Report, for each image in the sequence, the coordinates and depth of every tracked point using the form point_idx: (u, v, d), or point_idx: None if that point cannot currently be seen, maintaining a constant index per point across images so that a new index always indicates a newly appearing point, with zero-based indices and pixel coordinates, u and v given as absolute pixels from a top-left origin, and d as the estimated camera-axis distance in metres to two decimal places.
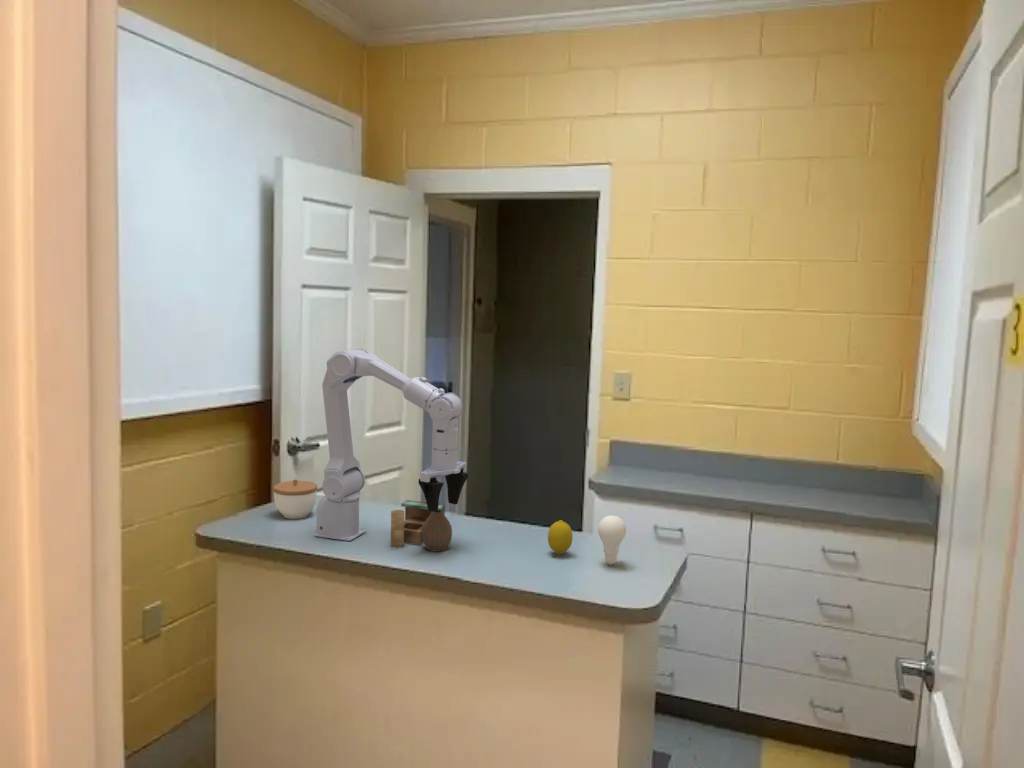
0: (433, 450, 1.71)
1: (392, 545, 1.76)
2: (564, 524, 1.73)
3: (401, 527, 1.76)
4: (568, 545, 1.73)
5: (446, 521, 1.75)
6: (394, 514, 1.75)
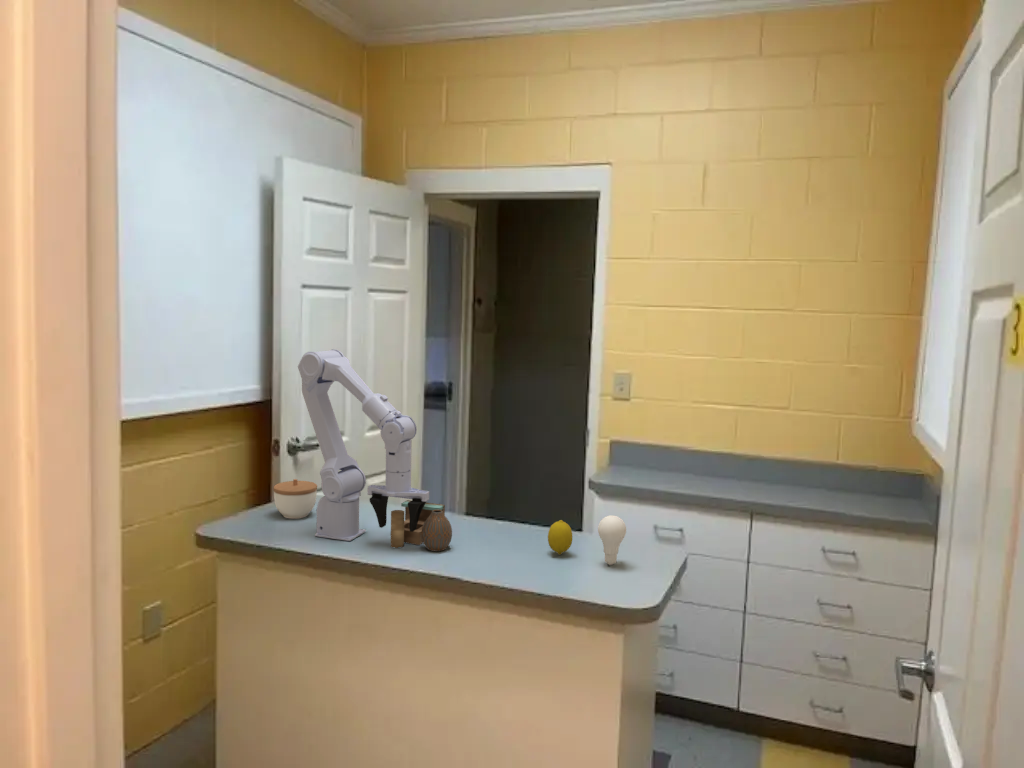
0: None
1: (392, 545, 1.76)
2: (564, 524, 1.73)
3: (401, 527, 1.76)
4: (568, 545, 1.73)
5: (446, 521, 1.75)
6: (394, 514, 1.75)
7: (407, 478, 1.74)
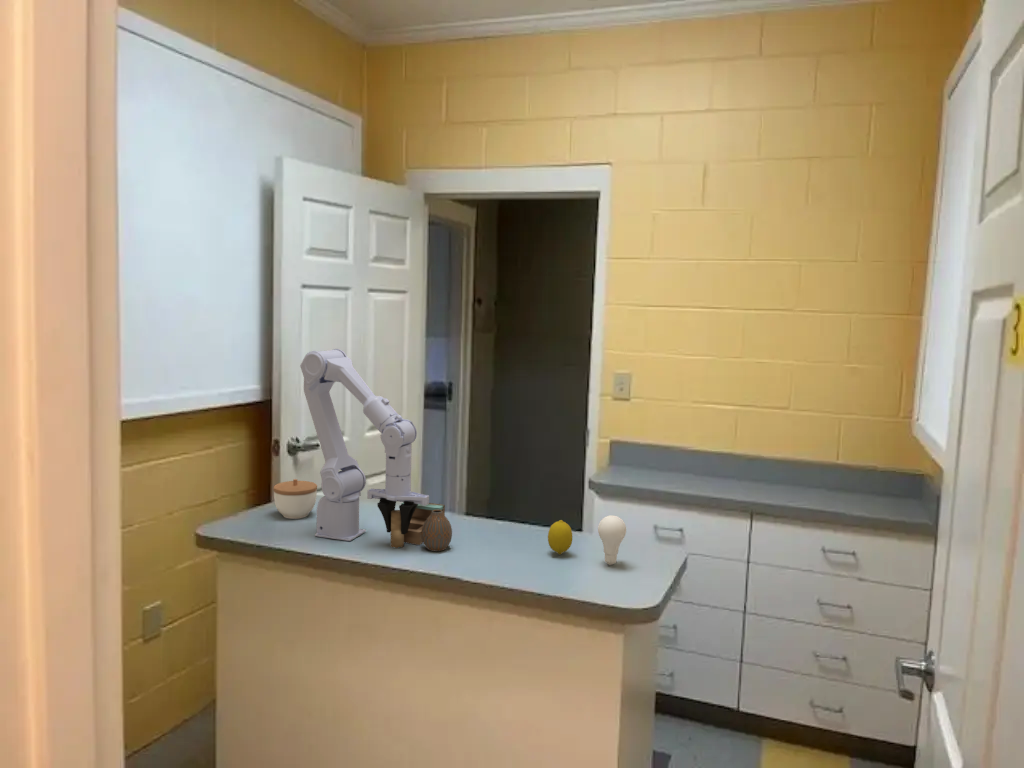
0: None
1: (392, 545, 1.76)
2: (564, 524, 1.73)
3: None
4: (568, 545, 1.73)
5: (446, 521, 1.75)
6: (394, 514, 1.75)
7: (407, 482, 1.74)
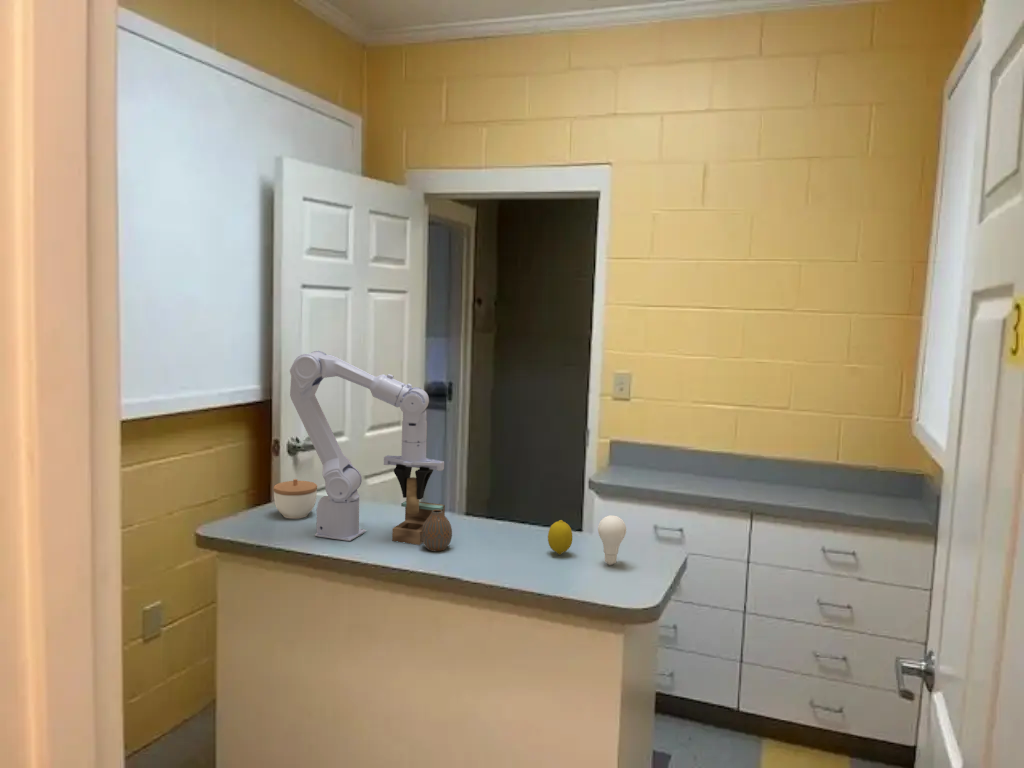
0: None
1: (407, 511, 1.80)
2: (564, 524, 1.73)
3: None
4: (568, 545, 1.73)
5: (446, 521, 1.75)
6: (410, 481, 1.79)
7: (423, 448, 1.78)
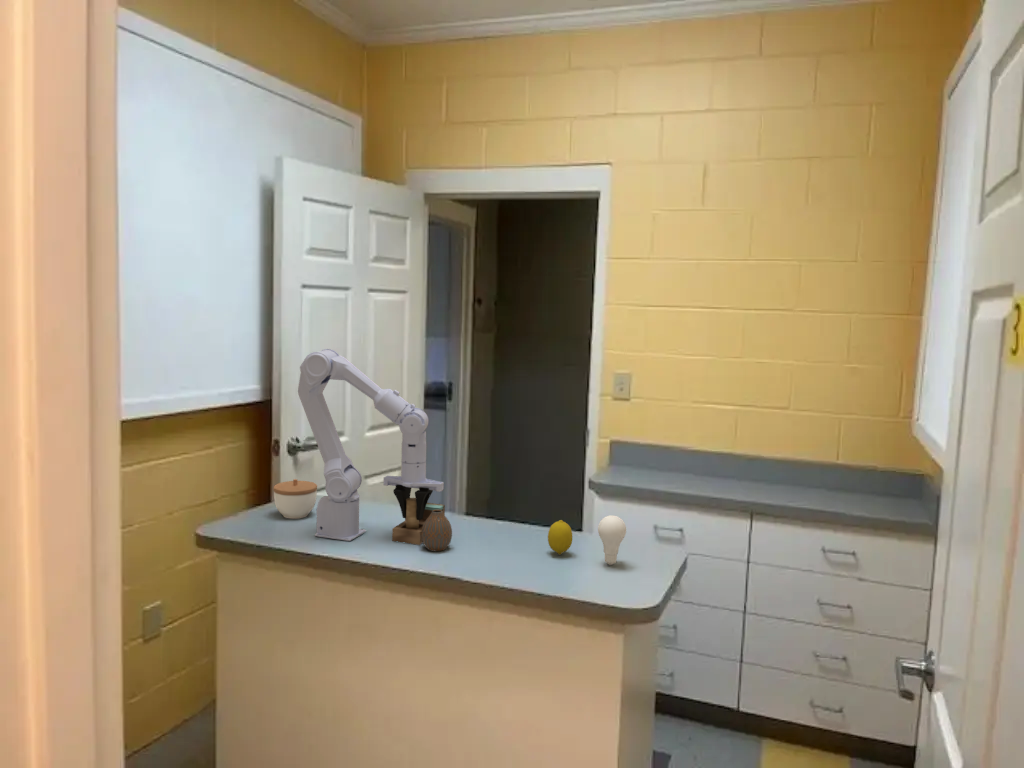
0: None
1: None
2: (564, 524, 1.73)
3: None
4: (568, 545, 1.73)
5: (446, 521, 1.75)
6: (409, 502, 1.80)
7: (423, 469, 1.79)
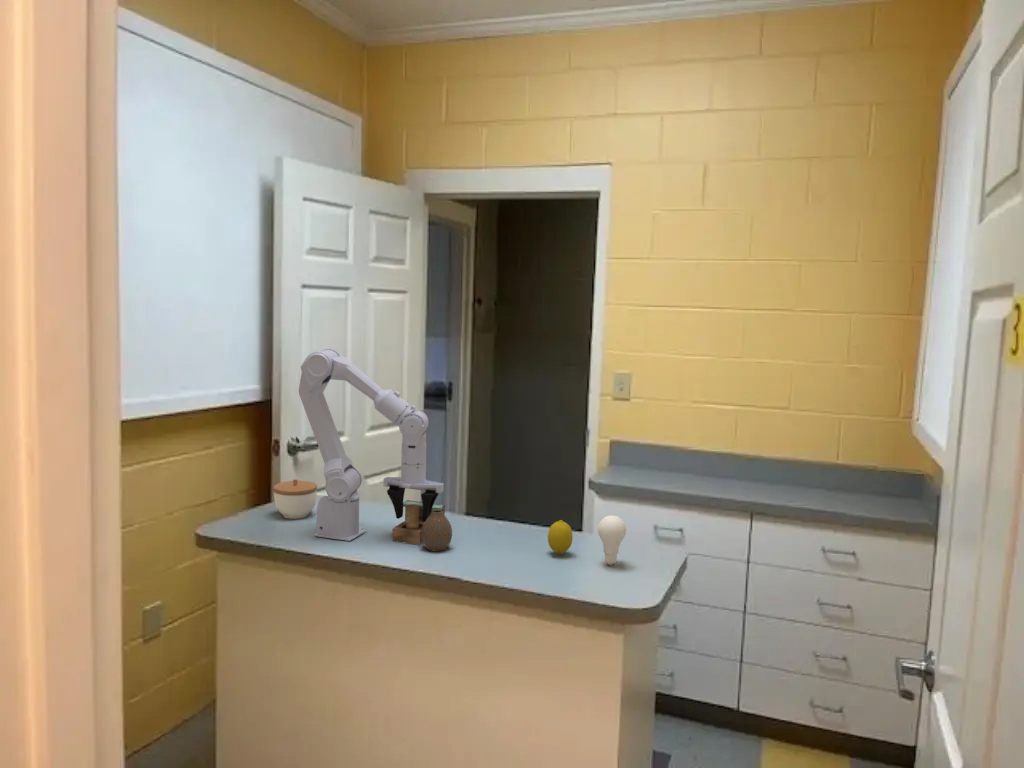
0: None
1: None
2: (564, 524, 1.73)
3: (416, 521, 1.81)
4: (568, 545, 1.73)
5: (446, 521, 1.75)
6: (409, 508, 1.80)
7: (423, 470, 1.79)
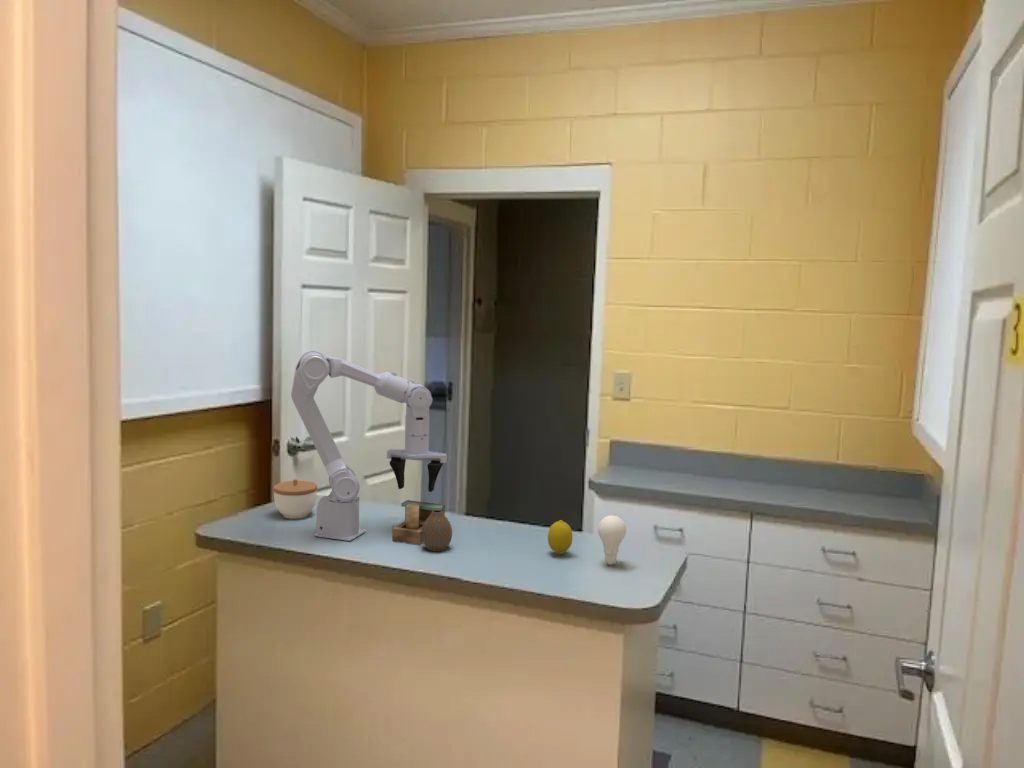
0: None
1: None
2: (564, 524, 1.73)
3: (416, 521, 1.81)
4: (568, 545, 1.73)
5: (446, 521, 1.75)
6: (409, 508, 1.80)
7: (426, 441, 1.85)
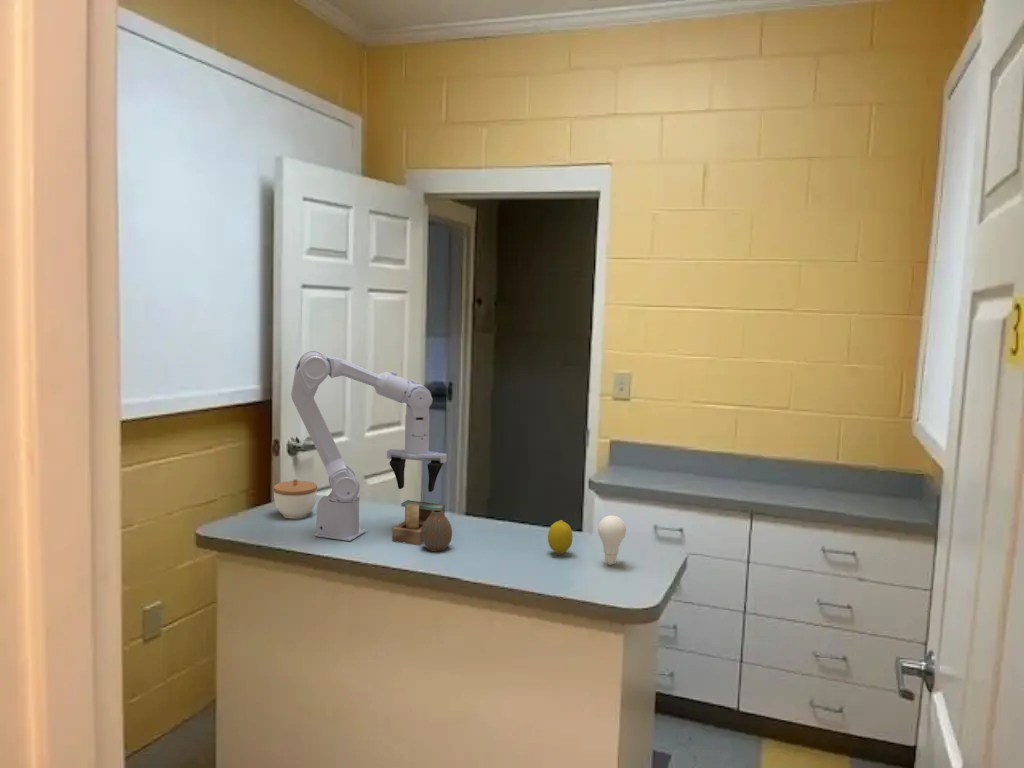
0: None
1: None
2: (564, 524, 1.73)
3: (416, 521, 1.81)
4: (568, 545, 1.73)
5: (446, 521, 1.75)
6: (409, 508, 1.80)
7: (426, 441, 1.85)
